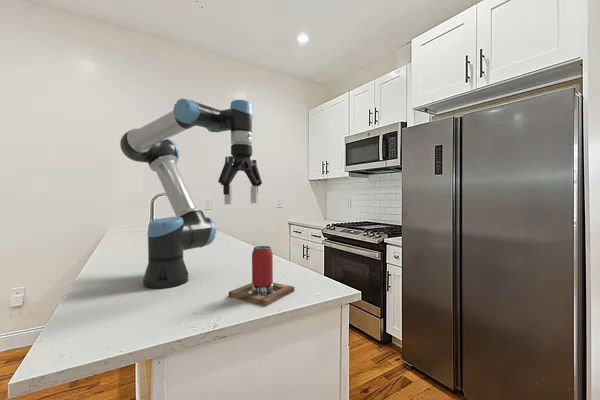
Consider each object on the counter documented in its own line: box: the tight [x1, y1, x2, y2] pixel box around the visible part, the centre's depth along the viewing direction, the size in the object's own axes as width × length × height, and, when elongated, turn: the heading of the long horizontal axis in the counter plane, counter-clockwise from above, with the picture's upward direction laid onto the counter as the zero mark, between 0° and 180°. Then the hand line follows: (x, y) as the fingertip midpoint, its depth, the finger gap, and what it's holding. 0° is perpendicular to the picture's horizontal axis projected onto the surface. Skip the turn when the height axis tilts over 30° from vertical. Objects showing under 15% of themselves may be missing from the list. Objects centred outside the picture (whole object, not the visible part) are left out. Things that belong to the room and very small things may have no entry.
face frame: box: [228, 282, 295, 307], centre depth 95 cm, size 15×15×2 cm
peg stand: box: [251, 284, 274, 296], centre depth 95 cm, size 5×5×3 cm
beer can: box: [251, 245, 274, 287], centre depth 95 cm, size 7×7×12 cm
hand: (241, 203), depth 107 cm, fingers open, 13 cm apart
